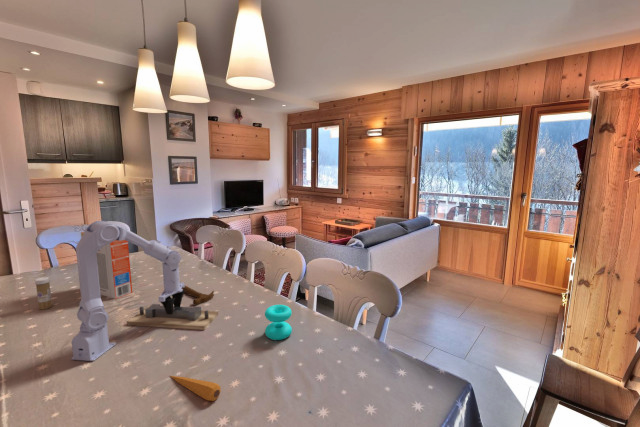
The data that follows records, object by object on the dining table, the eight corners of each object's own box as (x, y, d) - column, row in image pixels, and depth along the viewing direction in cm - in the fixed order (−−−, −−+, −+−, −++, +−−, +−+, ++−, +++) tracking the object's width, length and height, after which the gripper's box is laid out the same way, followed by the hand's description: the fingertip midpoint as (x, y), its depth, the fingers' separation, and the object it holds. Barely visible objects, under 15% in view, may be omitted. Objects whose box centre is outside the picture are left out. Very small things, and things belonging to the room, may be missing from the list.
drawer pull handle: (195, 320, 117) (194, 312, 116) (145, 317, 119) (145, 309, 118) (201, 314, 122) (201, 306, 121) (153, 311, 124) (153, 304, 123)
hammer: (165, 289, 151) (196, 306, 133) (164, 283, 151) (195, 300, 133) (187, 283, 160) (219, 298, 142) (187, 277, 160) (218, 292, 142)
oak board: (204, 329, 113) (203, 319, 113) (127, 324, 116) (126, 314, 116) (218, 314, 125) (217, 304, 124) (147, 310, 128) (146, 300, 127)
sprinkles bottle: (36, 310, 127) (32, 280, 125) (42, 305, 131) (38, 277, 129) (49, 309, 128) (45, 279, 126) (55, 304, 133) (51, 276, 131)
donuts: (289, 301, 116) (293, 313, 106) (289, 325, 117) (294, 339, 108) (263, 304, 113) (265, 317, 103) (264, 328, 114) (266, 343, 105)
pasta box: (132, 292, 146) (127, 233, 142) (115, 299, 139) (109, 237, 134) (104, 284, 156) (98, 229, 151) (87, 290, 148) (80, 232, 144)
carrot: (221, 400, 80) (224, 382, 81) (208, 405, 76) (212, 386, 77) (174, 382, 89) (177, 366, 91) (160, 385, 86) (164, 369, 87)
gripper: (170, 286, 110) (172, 320, 112) (190, 273, 125) (192, 303, 127) (152, 285, 111) (155, 319, 113) (174, 272, 125) (176, 302, 127)
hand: (173, 310), depth 120 cm, fingers open, 5 cm apart
